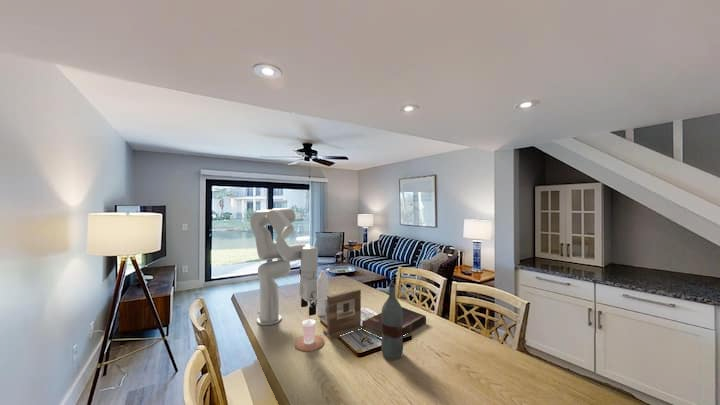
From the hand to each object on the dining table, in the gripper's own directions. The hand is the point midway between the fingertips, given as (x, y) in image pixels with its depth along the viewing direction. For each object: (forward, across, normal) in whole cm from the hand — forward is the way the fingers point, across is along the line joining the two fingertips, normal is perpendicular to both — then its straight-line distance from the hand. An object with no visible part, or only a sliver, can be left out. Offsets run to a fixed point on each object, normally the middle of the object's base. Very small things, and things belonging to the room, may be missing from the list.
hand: (308, 310), depth 126 cm
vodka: (+14, +29, +26) cm, 41 cm away
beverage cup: (+14, +1, 0) cm, 14 cm away
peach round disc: (+15, +1, 0) cm, 15 cm away
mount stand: (+15, -1, +19) cm, 24 cm away
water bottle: (+16, -25, +20) cm, 36 cm away
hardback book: (+15, +10, +44) cm, 47 cm away
